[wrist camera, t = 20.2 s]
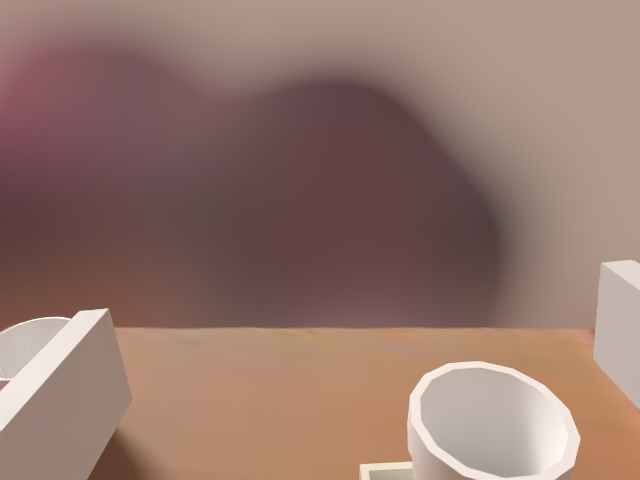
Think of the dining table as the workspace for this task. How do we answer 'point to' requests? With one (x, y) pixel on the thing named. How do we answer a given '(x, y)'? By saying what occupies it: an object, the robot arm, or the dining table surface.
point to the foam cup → (488, 426)
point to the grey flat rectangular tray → (387, 471)
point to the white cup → (25, 344)
